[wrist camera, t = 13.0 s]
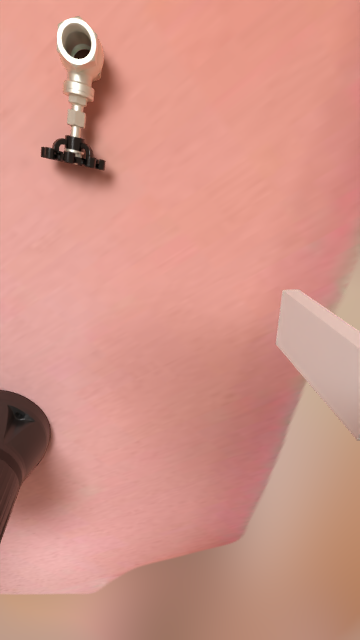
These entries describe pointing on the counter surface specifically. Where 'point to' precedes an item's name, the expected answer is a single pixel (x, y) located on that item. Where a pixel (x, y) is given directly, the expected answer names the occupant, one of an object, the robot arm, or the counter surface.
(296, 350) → the robot arm
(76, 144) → the valve
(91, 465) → the counter surface
